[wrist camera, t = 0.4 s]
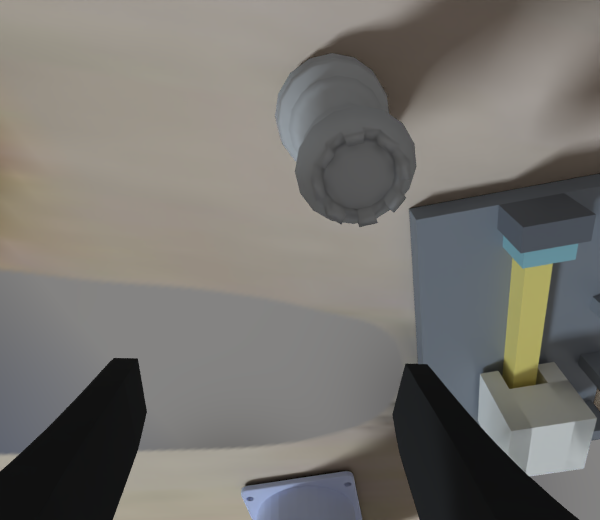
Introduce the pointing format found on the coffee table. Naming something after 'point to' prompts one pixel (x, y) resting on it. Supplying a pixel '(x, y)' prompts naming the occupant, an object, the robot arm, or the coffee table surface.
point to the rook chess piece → (344, 140)
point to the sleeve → (537, 421)
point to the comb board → (510, 287)
